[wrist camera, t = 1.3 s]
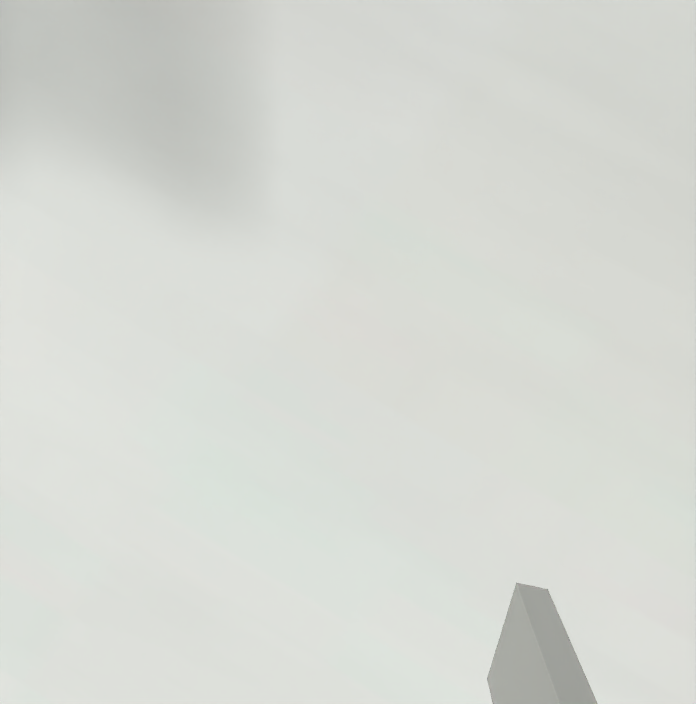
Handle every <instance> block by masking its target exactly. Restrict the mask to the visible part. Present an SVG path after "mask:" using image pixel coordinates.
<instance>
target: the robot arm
mask: <svg viewBox="0 0 696 704" xmlns="http://www.w3.org/2000/svg"><path fill="white" fill-rule="evenodd" d="M487 680H488V685H489V689H490V693H491V698H492V702H493V704H597V701H596V699H595V697H594V694H593V692H592V690H591V688H590V685H589V683H588V681H587V678H586V676H585V674H584V672H583V669H582V667H581V665H580V662H579V660H578V658H577V655H576V653H575V651H574V649H573V646H572V644H571V642H570V639H569V637H568V635H567V633H566V630H565V628H564V626H563V623H562V621H561V619H560V616H559V614H558V612H557V610H556V607H555V605H554V603H553V600H552V598H551V596H550V594H549V591H548V589H543V588H539V587H534V586H529V585H525V584H520V583H516V586H515V589H514V592H513V596H512V599H511V602H510V606H509V609H508V612H507V615H506V619H505V622H504V625H503V628H502V632H501V635H500V638H499V641H498V645H497V648H496V651H495V655H494V658H493V661H492V664H491V668H490V671H489V674H488V677H487Z"/></svg>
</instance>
